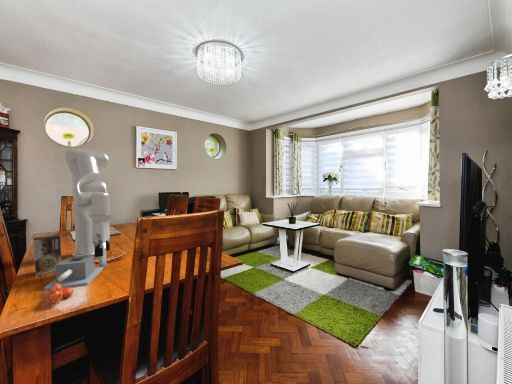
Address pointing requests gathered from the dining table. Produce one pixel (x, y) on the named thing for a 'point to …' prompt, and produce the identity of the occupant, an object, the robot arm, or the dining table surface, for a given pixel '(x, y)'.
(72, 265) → the grey socket block
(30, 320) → the dining table surface
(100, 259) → the key peg
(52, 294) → the orange toy bird
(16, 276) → the dining table surface
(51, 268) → the coffee box
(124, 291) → the dining table surface
